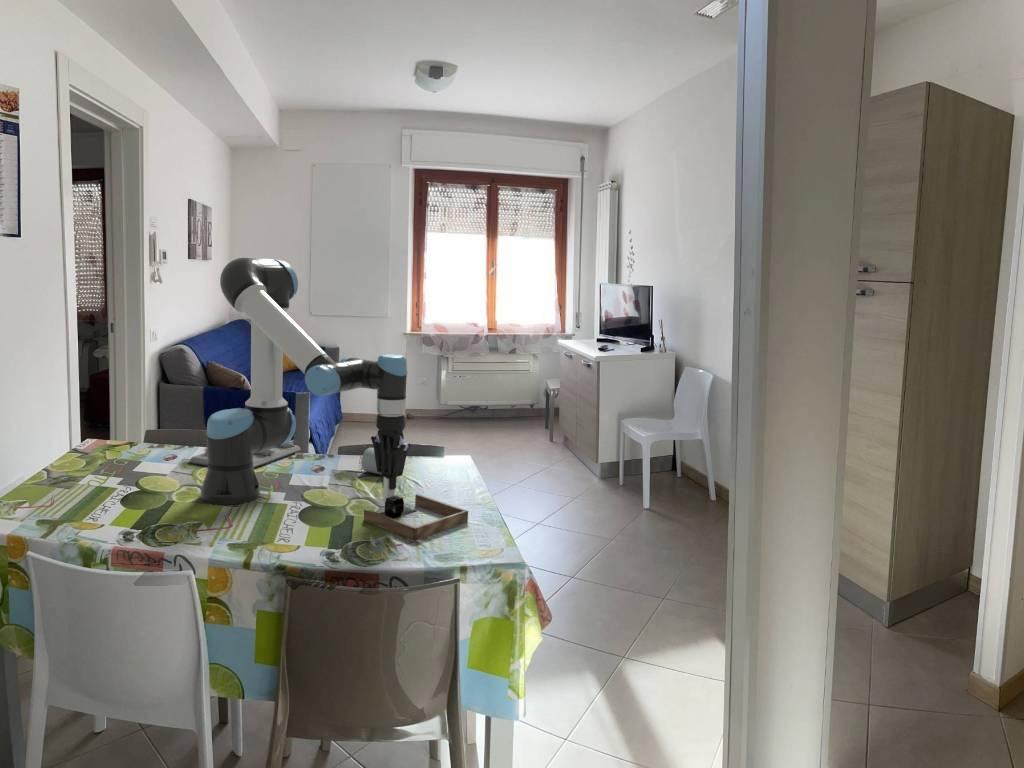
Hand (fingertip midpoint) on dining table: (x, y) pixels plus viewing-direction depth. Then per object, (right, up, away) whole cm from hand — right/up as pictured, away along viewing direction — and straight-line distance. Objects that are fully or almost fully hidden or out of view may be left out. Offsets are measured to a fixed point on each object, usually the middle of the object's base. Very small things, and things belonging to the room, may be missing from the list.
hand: (388, 500), depth 198 cm
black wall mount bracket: (+1, -4, -1) cm, 4 cm away
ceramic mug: (-9, +3, +36) cm, 37 cm away
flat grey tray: (-54, +6, +44) cm, 70 cm away
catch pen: (+8, -4, -6) cm, 11 cm away
